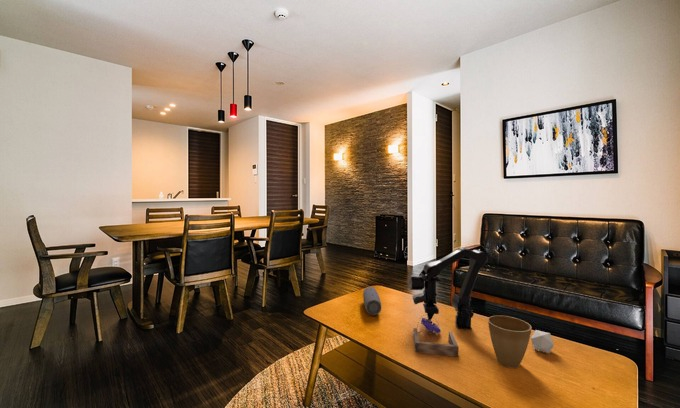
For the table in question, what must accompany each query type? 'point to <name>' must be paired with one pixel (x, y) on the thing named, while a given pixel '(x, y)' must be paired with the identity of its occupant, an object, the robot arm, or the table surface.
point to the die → (542, 341)
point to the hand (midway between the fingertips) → (429, 320)
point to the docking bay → (436, 346)
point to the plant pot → (509, 339)
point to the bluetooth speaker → (371, 301)
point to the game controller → (430, 326)
